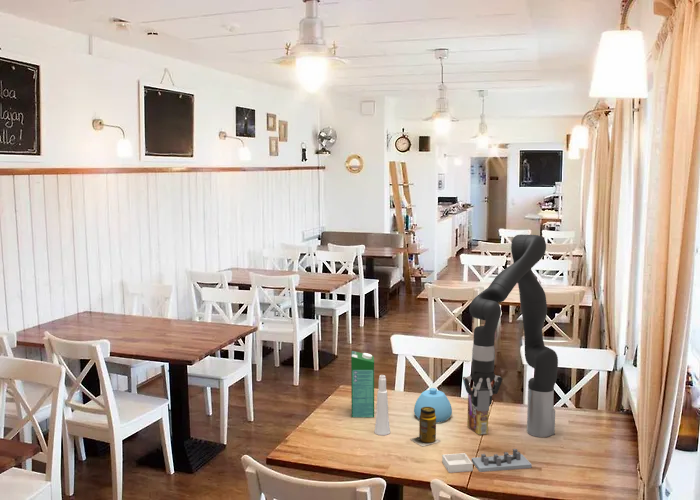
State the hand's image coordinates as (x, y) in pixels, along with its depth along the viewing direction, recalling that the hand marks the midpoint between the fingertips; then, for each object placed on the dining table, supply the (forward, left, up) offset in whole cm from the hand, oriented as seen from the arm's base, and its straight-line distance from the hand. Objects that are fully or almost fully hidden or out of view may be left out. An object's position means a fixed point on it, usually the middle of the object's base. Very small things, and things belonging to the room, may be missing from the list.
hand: (481, 405), depth 230 cm
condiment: (+16, -15, -18) cm, 28 cm away
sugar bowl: (+7, -37, -18) cm, 42 cm away
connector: (0, 0, -1) cm, 1 cm away
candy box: (-6, -21, -18) cm, 28 cm away
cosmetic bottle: (+30, -25, -18) cm, 43 cm away
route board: (-4, +8, -18) cm, 20 cm away
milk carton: (+34, -45, -18) cm, 59 cm away
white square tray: (+11, +7, -18) cm, 22 cm away
